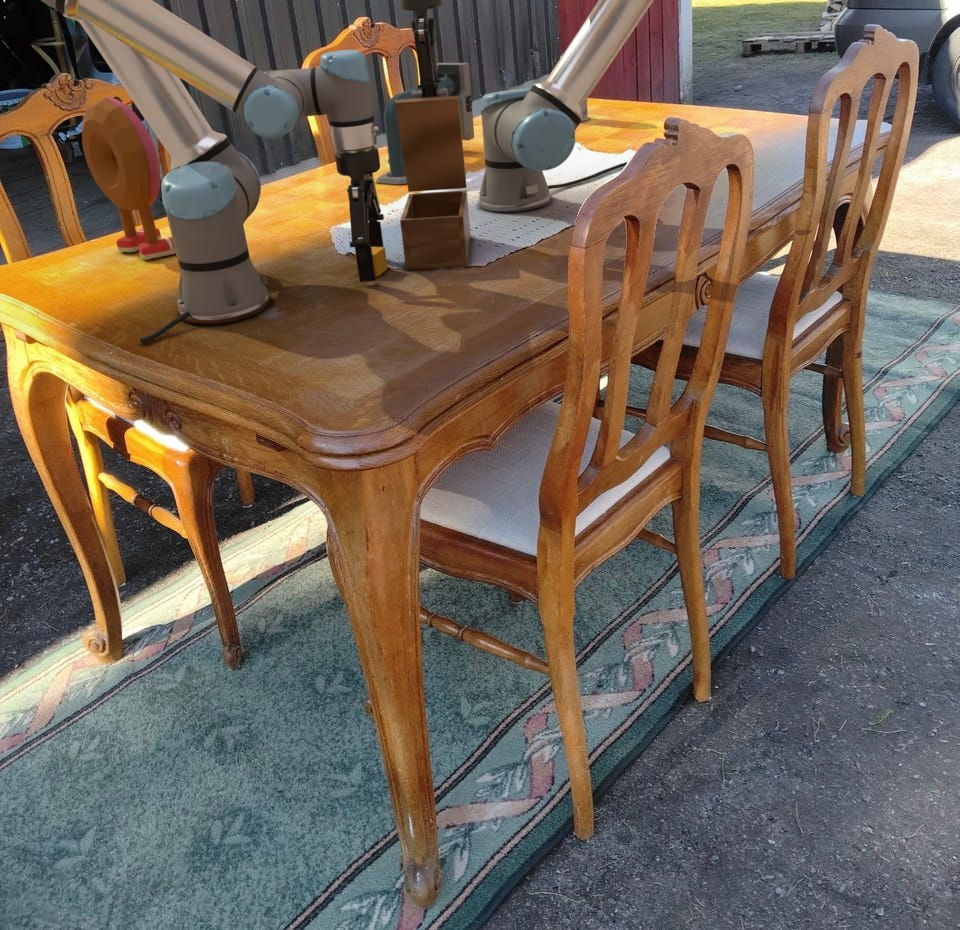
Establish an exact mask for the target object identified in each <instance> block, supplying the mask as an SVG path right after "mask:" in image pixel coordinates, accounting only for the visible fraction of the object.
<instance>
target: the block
mask: <svg viewBox="0 0 960 930" xmlns="http://www.w3.org/2000/svg"><path fill="white" fill-rule="evenodd" d="M371 249H372V256H373V263H374V271H375V277H380V276H381V275H382V274H383V273H384V272H386V271H387V270H388V261H387V253H386V247H385V246H384V247H371ZM354 256H355V264H356V270H357V276H359V271H358V264H357V258H356V252H355V253H354Z"/></svg>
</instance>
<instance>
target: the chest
mask: <svg viewBox="0 0 960 930" xmlns="http://www.w3.org/2000/svg"><path fill="white" fill-rule="evenodd" d="M468 200H469V199H468V190H467V189H458V190H445V191H444V190H443V191H432V192H431V191H430V192H429V191H428V192H413V193H408V195H407V199H406V202H405V205H404V208H403V211H402V213H401V217H400V222H399V223H400V231H401V240H402V250H403V256H404V265H405V270H406V271H415V270H433V269H450V268H465V267H466V268H468V263H469V254H470V246H471V245H470V244H471V227H470V215H469V201H468Z"/></svg>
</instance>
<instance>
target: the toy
mask: <svg viewBox="0 0 960 930" xmlns="http://www.w3.org/2000/svg"><path fill="white" fill-rule="evenodd" d="M144 121H145V118H144V117H143V116H142V114H141V113H140V111H139V110H138V108H137V107H136V105H135V104H134V102H133V101H132V100H131V107H130V106H128V105H126V104H125V103H124V102H123V101H122V99H121V98H120V97H119V96H117V95H115V96H114V97H110V96H106V97H104V98H102V99H100V100H98V101H95V103H92V104H91V105H89V106H88V107H86V110H85V113H84V116H83V119H82V124H81V141H82V142H81V143H82V150H83V153H84V157H85V161H86V165H87V167H88V169H89V172H90V174H91V176H92V178H93V179H94V182H95V183H96V184H97V186H98V187H99V188H100V190H101V191H102V192H103V194H104V195H105V196H106V197H107V198H108V199H109V200H110V201H111V202H112V203H113V204H114V205H116V206H117V210H118V213H119V217H120V221H121V225H122V230H123V233H124V236H122V237H120V238H118V239H116V243H115V244H116V247H117V250H118V252H121V253H135V252H139V256H140V257H141V259H143V260H152V259H158V258H162V257H167V256H172V255H176V251H175V247H174V243H173V238H172V236H170V237H165V238H162V234H161V231H160V229H159V228H158V227H156V224H155V219H154V215H153V211H152V208H151V207H152V205H154V203H155V202H156V200H157V198H158V195H159V193H160V190H161V166H160V165H161V164H160V160H159V156H158V152H157V149H156V146H155V143H154V141H153V138H152V136H151V133H150V132H149V130H148V128H147V127H146V125H145V124H144ZM132 211H133V212H134V211H138V214H139V219H140V222H141V226H142V228H139V229H136V225H135V220H134V215H133V212H132Z"/></svg>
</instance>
